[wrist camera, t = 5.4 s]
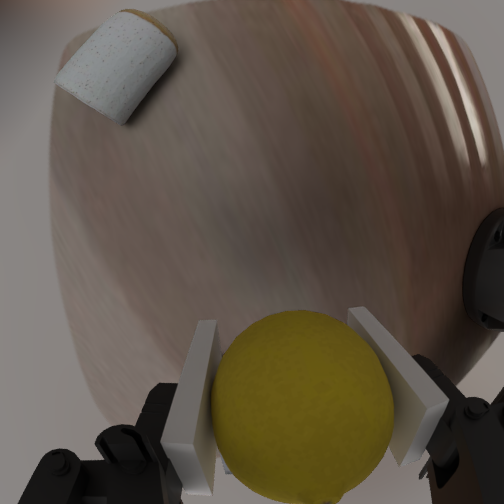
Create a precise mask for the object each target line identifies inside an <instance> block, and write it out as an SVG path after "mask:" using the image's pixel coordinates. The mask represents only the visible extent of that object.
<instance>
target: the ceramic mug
mask: <svg viewBox="0 0 504 504" xmlns="http://www.w3.org/2000/svg"><path fill="white" fill-rule="evenodd" d="M177 53H178V45H177V42H176V39H175V38H174V36H173V35H172V33H171V32H170V31H169V30H168V29H167V28H166V27H165V26H164V25H163V24H162V23H160V22H159V21H158V20H157V19H155V18H154V17H152V16H150V15H148V14H146V13H144V12H142V11H138V10H135V9H125V10H121V11H119V12H118V13H116V14H115V15H113V16H112V17H111V18H109V19H108V20H107V21H106V22H104V23H103V24H102V25H101V26H100V27H99V28H98V29H97V30H96V31H95V32H94V34H93V35H92V36H91V37H90V38H89V39H88V40H87V41H86V42H85V43H84V44H83V45H82V46H81V47H80V49H79V50H78V51H77V52H76V53H75V54H74V55H73V56H72V58H71V59H70V60H69V61H68V62H67V64H66V65H65V66H64V67H63V68H62V70H61V71H60V72H59V73H58V75H57V76H56V78H55V80H54V83H56V84H57V85H58V86H60V87H61V88H63V89H64V90H66V91H67V92H69V93H71V94H72V95H74V96H75V97H76V98H78V99H79V100H81V101H82V102H84V103H85V104H87V105H88V106H90V107H92V108H94V109H96V110H97V111H98V112H100V113H101V114H103V115H105V116H106V117H108V118H110V119H111V120H113V121H114V122H116V123H118V124H119V125H124V124H125V123H126V121H127V120H128V118H129V117H130V115H131V114H132V113H133V111H134V110H135V108H136V107H137V106H138V104H139V103H140V102H141V100H142V99H143V98H144V97H145V95H146V94H147V93H148V91H149V90H150V89H151V87H152V86H153V85H154V84H155V82H156V81H157V80H158V79H159V78H160V77H161V76H162V75H163V73H164V72H165V71H166V70H167V69H168V67H169V66H170V65H171V63H172V61H173V60H174V58H175V57H176V55H177Z"/></svg>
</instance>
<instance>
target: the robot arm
mask: <svg viewBox="0 0 504 504" xmlns="http://www.w3.org/2000/svg"><path fill="white" fill-rule="evenodd" d="M463 299H464V305H465V308H466V311H467V313H468V315H469V317H470V318H471V319H472V320H473V321H474V322H476V323H477V324H479V325H480V326H482V327H483V328H486V329H489V330H495V331H501V332H504V208H500V209H497V210H495V211H494V212H492V213H491V214H490V215H489V216H488V217H487V218H486V219H485V220H484V222H483V223H482V224H481V226H480V228H479V229H478V231H477V233H476V235H475V238H474V240H473V242H472V245H471V248H470V251H469V254H468V258H467V262H466V266H465V272H464V280H463ZM347 325H348V326H349V327H351V328H352V329H353V330H354V331H355V332H356V333H357V334H358V335H359V336H360V337H361V338H363V339H364V340H365V341H366V342H367V343H368V344H369V345H370V347H371V348H372V349H373V351H374V352H375V354H376V355H377V357H378V359H379V361H380V363H381V365H382V368H383V370H384V372H385V374H386V376H387V379H388V381H389V384H390V387H391V391H392V395H393V402H394V429H393V434H392V438H391V440H390V443H389V445H388V446H389V448H390V450H391V452H392V454H393V455H394V458H395V459H396V461H397V464H398V465H399V467H401V466H404V465H407V464H409V463H412V462H415V461H417V460H419V459H420V458H421V456H422V454H423V453H424V451H425V449H426V450H427V451H428V453H429V455H430V457H429V459H428V461H427V462H426V464H425V466H424V467H423V469H422V470H421V472H420V474H419V479H422V478H423V477H424V475H425V474H426V472H428V474H427V476H426V478H429V484H430V490H431V498H432V504H504V387H503V388H502V390H501V391H500V392H499V394H498V395H497V397H496V398H495V399H494V401H493V402H492V403H491V405H490V404H489V403H488V402H487V401H485V400H483V399H481V398H477V397H468V398H466V397H465V396H464V395H463V394H462V393H461V392H460V391H459V390H458V389H457V387H456V386H455V385H454V384H453V383H452V382H451V381H450V380H449V379H448V378H447V377H446V376H444V374H443V373H442V372H441V371H440V370H439V369H438V367H437V366H436V365H435V364H434V363H433V362H432V361H431V360H429V359H428V358H426V357H424V356H422V355H420V354H417V355H414V356H410V355H409V354H408V352H407V351H406V350H405V349H404V348H403V347H402V346H401V345H400V344H399V343H398V342H397V340H396V339H395V338H394V337H393V336H392V335H391V334H390V333H389V332H388V331H387V330H386V329H385V328H384V327H383V326H382V324H381V323H380V322H379V321H378V320H377V319H376V318H375V317H374V316H373V315H372V314H371V313H370V312H369V311H368V310H367V309H366V308H365V307H364V306H362V307H355V308H348V318H347ZM221 359H222V354H221V346H220V339H219V331H218V323H217V320H199V322H198V325H197V328H196V331H195V334H194V337H193V340H192V343H191V346H190V349H189V352H188V355H187V358H186V361H185V364H184V367H183V370H182V373H181V376H180V380H179V383H158V384H157V385H156V386H155V387H154V388H153V389H152V390H151V391H150V392H149V394H148V397H147V399H146V401H145V404H144V406H143V408H142V413H140V415H139V418H138V420H137V423H136V425H135V426H133V425H124V424H121V425H116V426H111V427H109V428H108V429H106V430H104V431H103V432H101V433H100V435H99V436H98V437H97V439H96V441H95V446H96V447H97V449H98V450H99V452H100V453H101V455H102V456H103V458H104V459H105V460H85V461H84V460H83V461H82V460H80V459H79V458H78V457H77V455H76V454H75V453H74V452H72V451H70V450H68V449H55V450H51V451H50V452H48V453H46V454H45V455H44V456H43V458H42V459H41V460H40V462H39V464H38V466H37V467H36V469H35V471H34V473H33V475H32V477H31V479H30V481H29V483H28V485H27V486H26V488H25V490H24V492H23V494H22V496H21V498H20V500H19V502H18V504H183V502H182V500H181V492H182V487H183V488H184V490H185V492H186V494H194V495H210V496H212V495H213V485H214V473H215V461H216V450H217V444H216V441H215V437H214V433H213V427H212V417H211V390H212V385H213V381H214V378H215V375H216V372H217V369H218V366H219V364H220V361H221Z"/></svg>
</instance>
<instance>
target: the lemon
mask: <svg viewBox="0 0 504 504" xmlns="http://www.w3.org/2000/svg"><path fill="white" fill-rule="evenodd" d="M211 417H212V427H213V433H214V437H215V441H216V444H217V446H218V449H219V451H220V453H221V455H222V457H223V459H224V461H225V463H226V465H227V467H228V468H229V470H230V471H231V472H232V474H233V475H234V476H235V477H236V478H237V479H238V480H239V481H240V482H242V483H243V484H244V485H245V486H247V487H248V488H249V489H251V490H252V491H254V492H256V493H258V494H260V495H262V496H264V497H267V498H269V499H272V500H275V501H279V502H283V503H289V504H336V503H337V502H339V501H340V499H341V498H342V496H343V494H344V493H346V492H348V491H349V490H351V489H353V488H355V487H356V486H357V485H359V484H360V483H361V482H362V481H364V480H365V479H366V478H367V477H368V476H369V475H370V474H371V473H372V471H373V470H374V469H375V468H376V467H377V465H378V464H379V462H380V461H381V459H382V458H383V456H384V454H385V452H386V450H387V448H388V445H389V443H390V440H391V438H392V434H393V429H394V402H393V395H392V391H391V387H390V384H389V381H388V379H387V376H386V374H385V372H384V370H383V368H382V365H381V363H380V361H379V359H378V357H377V355H376V354H375V352H374V351H373V349H372V348H371V347H370V345H369V344H368V343H367V342H366V341H365V340H364V339H363V338H361V337H360V336H359V335H358V334H357V333H356V332H355V331H354V330H353V329H352V328H351V327H349V326H348V325H346V324H345V323H343V322H341V321H338V320H336V319H334V318H332V317H330V316H328V315H326V314H322V313H316V312H311V311H306V310H298V311H285V312H281V313H277V314H273V315H269V316H267V317H265V318H263V319H261V320H259V321H257V322H255V323H253V324H252V325H250V326H249V327H248V328H247V329H246V330H244V331H243V332H242V333H241V334H240V335H239V336H237V337H236V338H235V340H234V341H233V343H232V344H231V345H230V347H229V348H228V350H227V351H226V352H225V354H224V355H223V357H222V359H221V361H220V364H219V366H218V369H217V372H216V375H215V378H214V381H213V385H212V390H211Z"/></svg>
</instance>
